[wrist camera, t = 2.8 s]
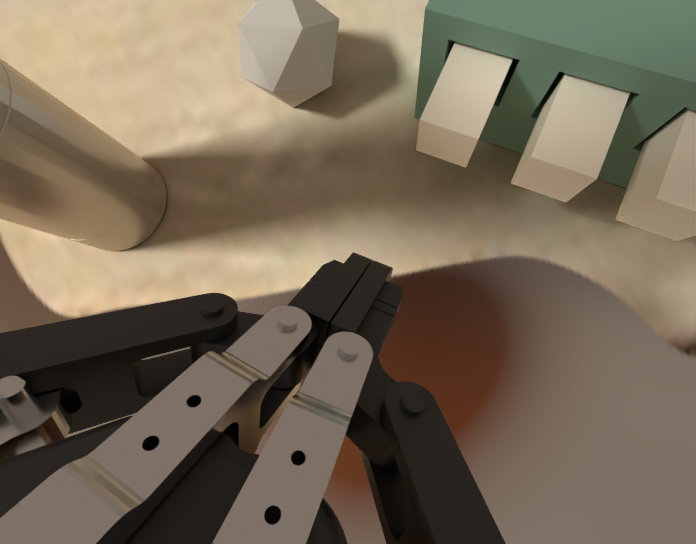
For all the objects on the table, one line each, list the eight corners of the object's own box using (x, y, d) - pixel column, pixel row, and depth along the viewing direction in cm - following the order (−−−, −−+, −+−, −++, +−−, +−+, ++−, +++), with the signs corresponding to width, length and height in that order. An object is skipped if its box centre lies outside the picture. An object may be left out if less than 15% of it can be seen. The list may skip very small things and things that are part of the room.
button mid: (510, 183, 25) (530, 156, 21) (541, 109, 26) (566, 71, 22) (566, 202, 24) (597, 178, 21) (595, 126, 25) (631, 89, 21)
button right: (615, 220, 24) (656, 198, 20) (644, 141, 24) (689, 106, 21) (677, 241, 23) (731, 223, 19) (705, 159, 24) (763, 127, 20)
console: (414, 117, 32) (434, -87, 17) (457, 24, 33) (513, -249, 18) (677, 205, 28) (1027, 44, 13) (716, 96, 29) (1081, -175, 14)
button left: (415, 150, 26) (419, 119, 23) (447, 80, 27) (456, 39, 23) (466, 167, 26) (478, 139, 22) (497, 95, 26) (514, 56, 23)
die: (356, 110, 34) (361, -22, 27) (278, 133, 30) (261, -16, 23) (304, 87, 38) (298, -31, 32) (230, 105, 34) (204, -27, 28)
